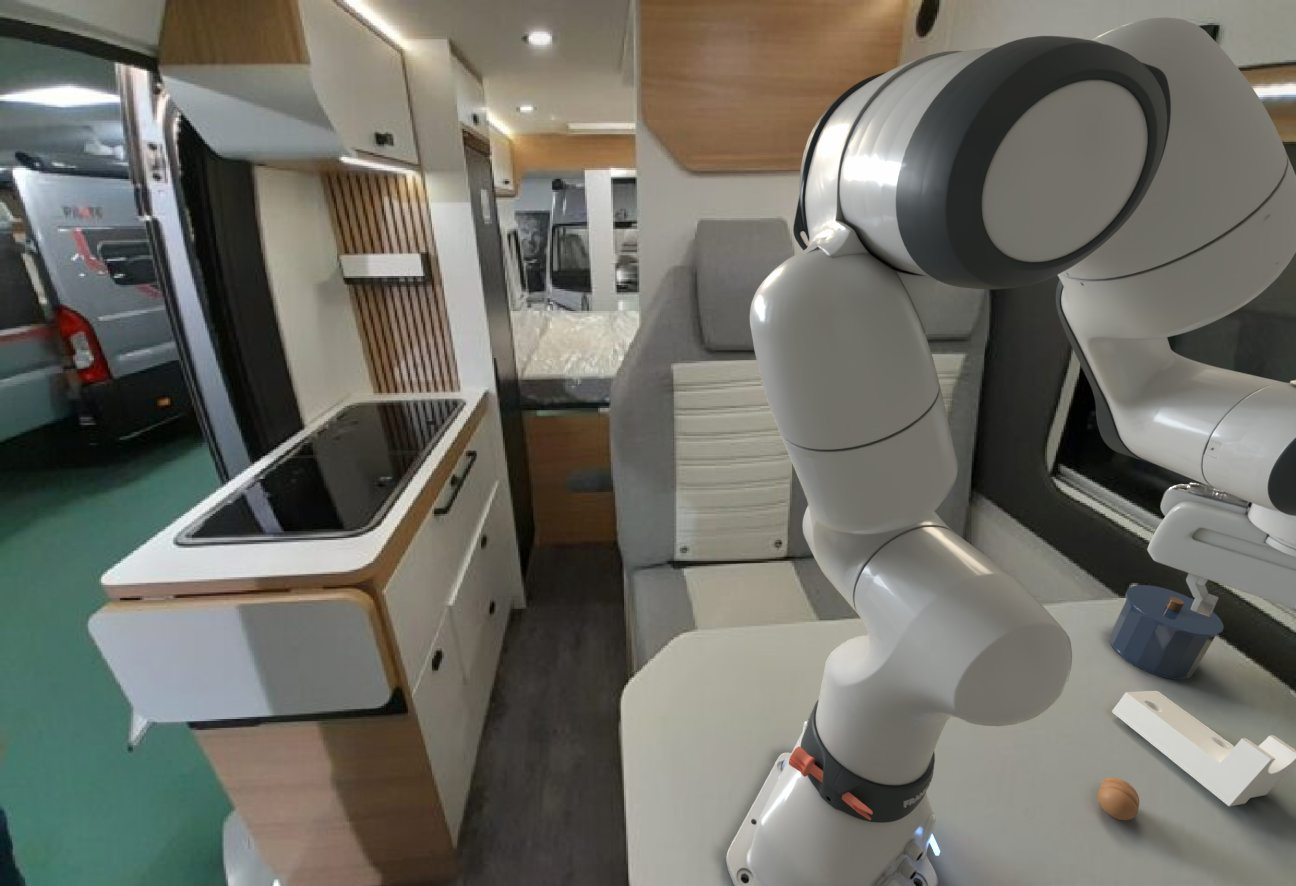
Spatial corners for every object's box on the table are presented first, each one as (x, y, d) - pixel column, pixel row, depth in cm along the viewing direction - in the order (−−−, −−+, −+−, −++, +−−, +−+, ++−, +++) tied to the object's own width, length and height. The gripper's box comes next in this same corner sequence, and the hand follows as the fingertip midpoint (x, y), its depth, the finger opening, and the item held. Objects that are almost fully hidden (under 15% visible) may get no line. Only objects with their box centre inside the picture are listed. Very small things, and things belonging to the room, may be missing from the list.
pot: (1189, 691, 77) (1215, 646, 74) (1102, 651, 84) (1123, 609, 80) (1196, 655, 83) (1220, 612, 80) (1115, 621, 90) (1134, 580, 86)
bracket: (1261, 800, 64) (1303, 754, 61) (1228, 806, 61) (1271, 759, 59) (1142, 709, 75) (1174, 668, 73) (1111, 711, 73) (1142, 668, 70)
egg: (1128, 833, 59) (1139, 814, 58) (1090, 810, 62) (1101, 791, 60) (1135, 805, 62) (1146, 786, 61) (1099, 783, 64) (1109, 764, 63)
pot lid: (1217, 652, 73) (1225, 638, 72) (1117, 611, 81) (1124, 598, 79) (1222, 615, 80) (1230, 602, 79) (1130, 581, 87) (1136, 568, 86)
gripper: (1160, 486, 53) (1122, 597, 59) (1541, 586, 38) (1441, 723, 43) (1179, 466, 56) (1141, 573, 62) (1537, 550, 41) (1444, 682, 46)
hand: (1267, 635), depth 52 cm, fingers open, 8 cm apart
